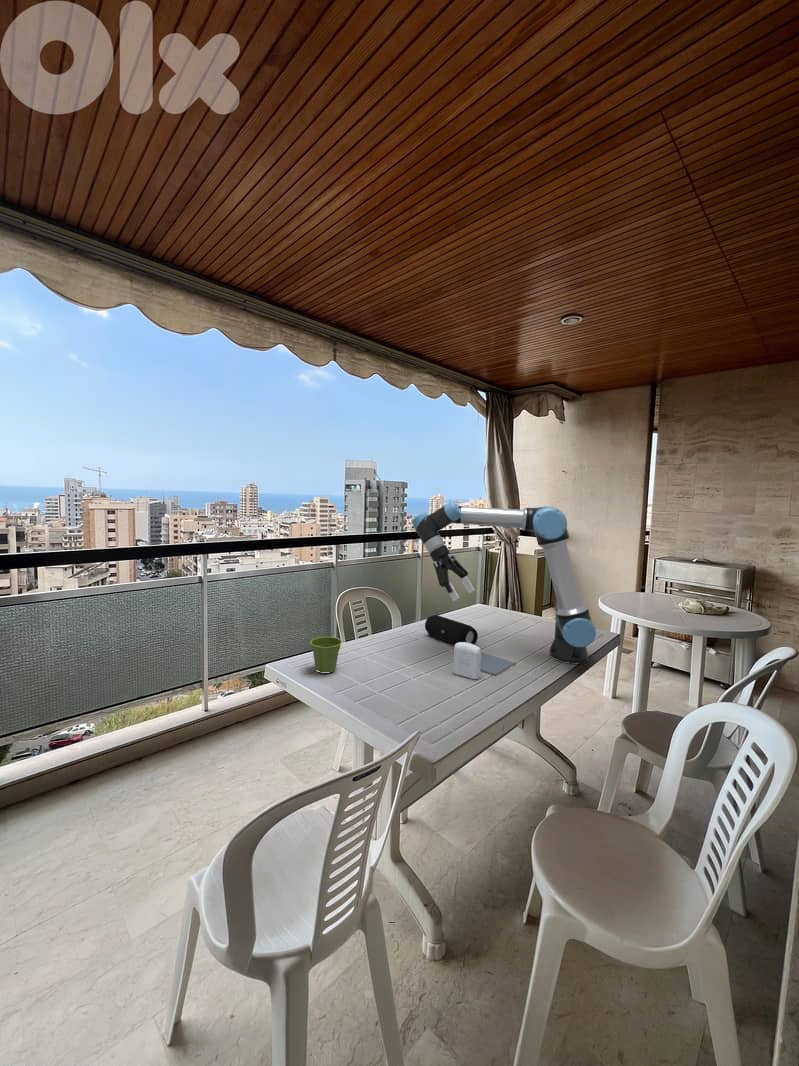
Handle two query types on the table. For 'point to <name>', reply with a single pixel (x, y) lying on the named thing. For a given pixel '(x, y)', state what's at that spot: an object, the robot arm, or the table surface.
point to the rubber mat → (494, 664)
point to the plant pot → (325, 652)
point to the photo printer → (467, 660)
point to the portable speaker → (450, 630)
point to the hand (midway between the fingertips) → (464, 595)
